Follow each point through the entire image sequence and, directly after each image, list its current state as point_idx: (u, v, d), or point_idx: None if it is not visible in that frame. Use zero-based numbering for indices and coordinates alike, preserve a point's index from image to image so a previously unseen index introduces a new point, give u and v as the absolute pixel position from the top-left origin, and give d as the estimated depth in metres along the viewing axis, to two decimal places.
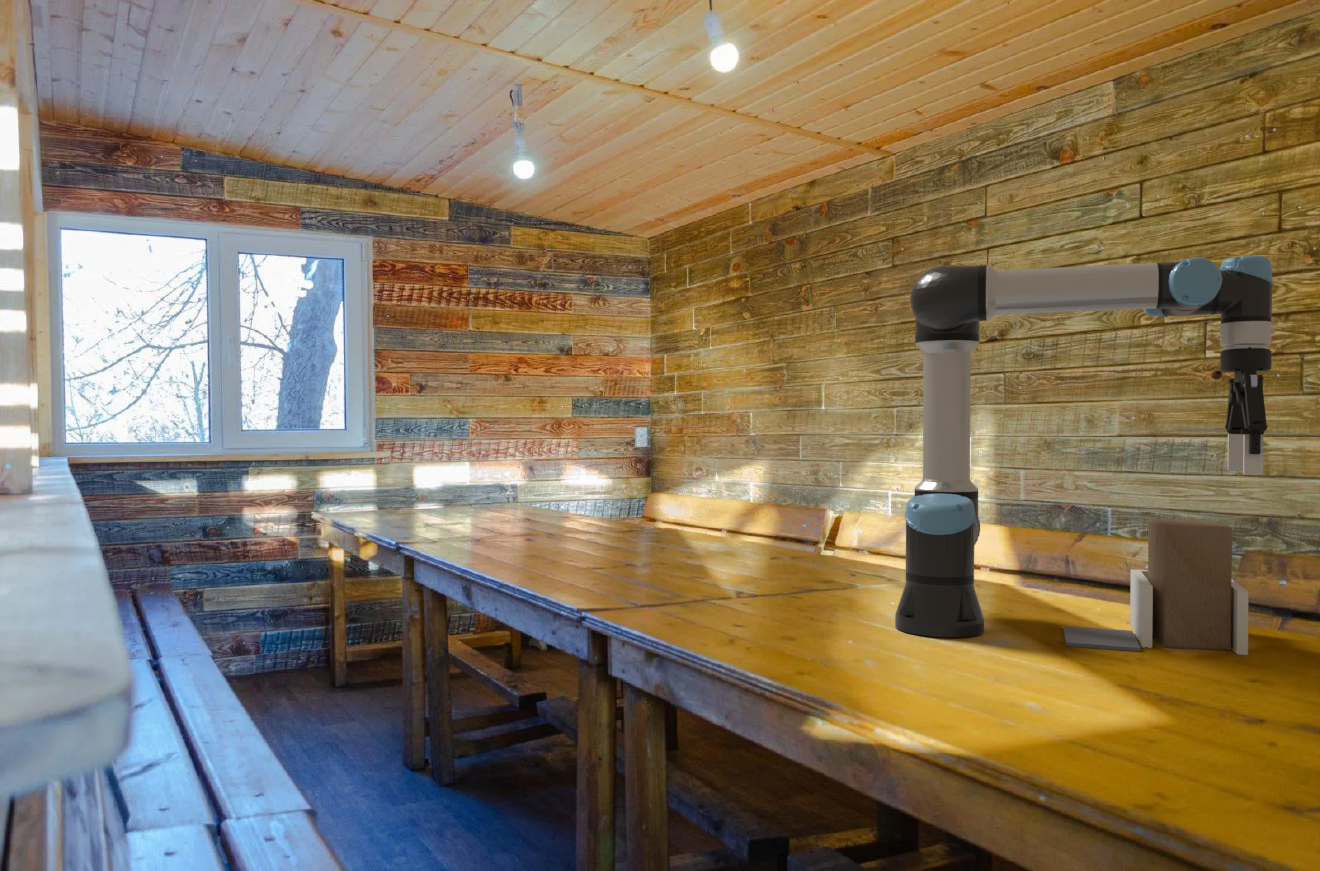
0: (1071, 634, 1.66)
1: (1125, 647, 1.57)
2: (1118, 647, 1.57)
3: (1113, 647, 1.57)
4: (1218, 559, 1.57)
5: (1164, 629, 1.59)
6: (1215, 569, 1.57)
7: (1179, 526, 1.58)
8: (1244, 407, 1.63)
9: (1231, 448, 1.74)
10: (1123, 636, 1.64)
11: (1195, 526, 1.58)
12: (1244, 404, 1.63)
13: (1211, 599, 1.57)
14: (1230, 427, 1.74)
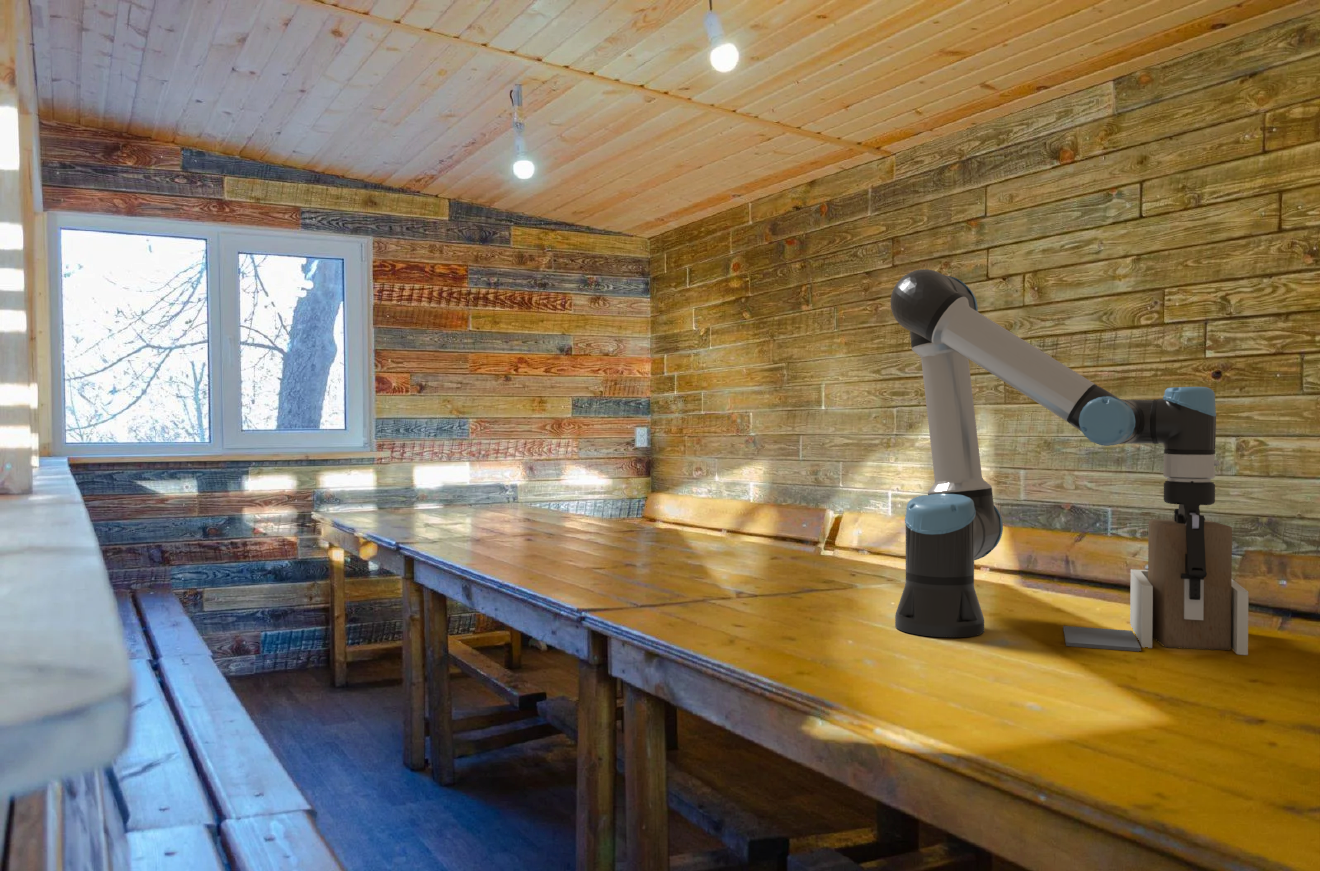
0: (1071, 634, 1.66)
1: (1125, 647, 1.57)
2: (1118, 647, 1.57)
3: (1113, 647, 1.57)
4: (1218, 559, 1.57)
5: (1164, 629, 1.59)
6: (1215, 569, 1.57)
7: (1179, 526, 1.58)
8: None
9: None
10: (1123, 636, 1.64)
11: None
12: None
13: (1211, 599, 1.57)
14: None
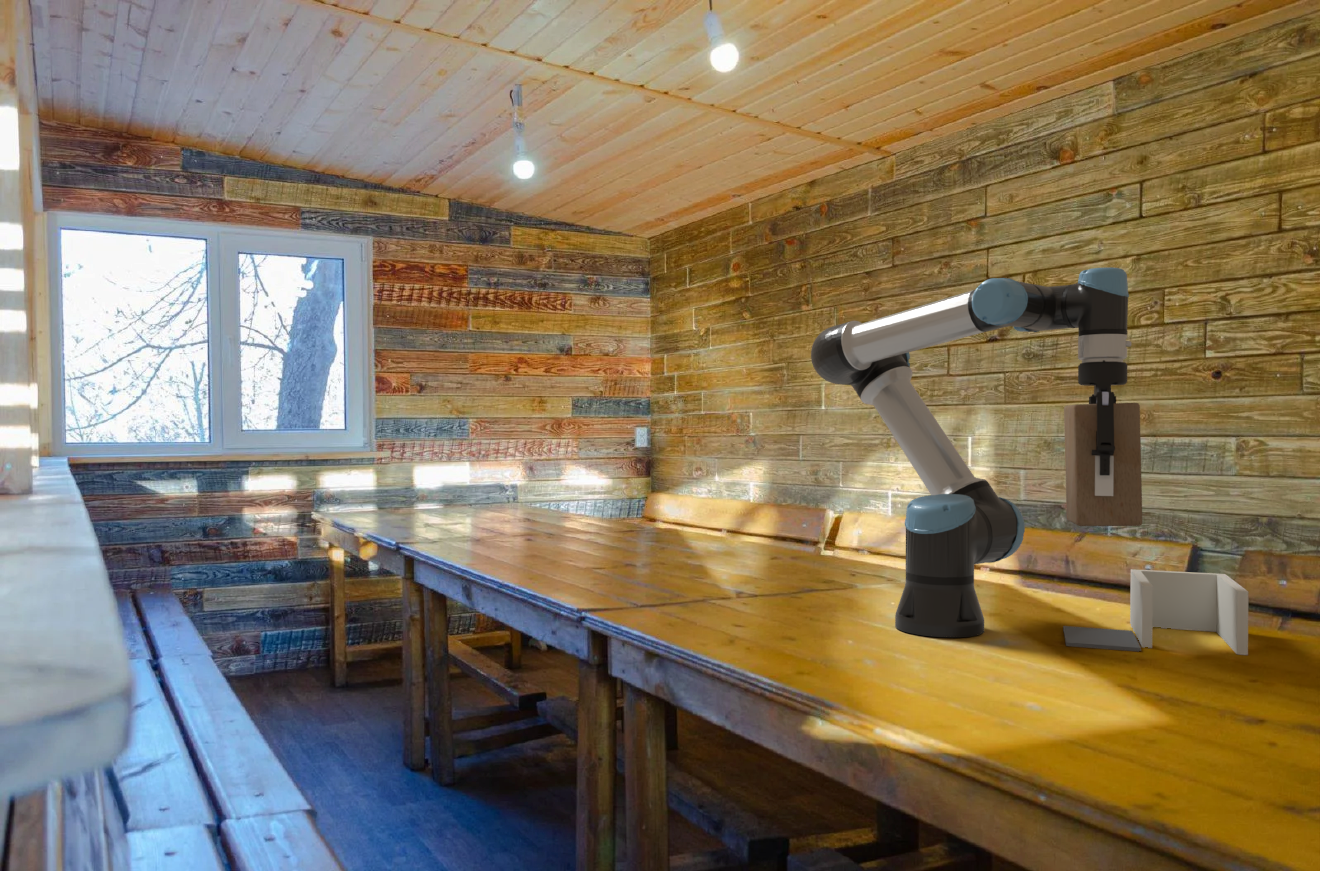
0: (1071, 634, 1.66)
1: (1125, 647, 1.57)
2: (1118, 647, 1.57)
3: (1113, 647, 1.57)
4: (1127, 436, 1.59)
5: (1077, 508, 1.61)
6: (1124, 445, 1.59)
7: (1088, 405, 1.60)
8: None
9: None
10: (1123, 636, 1.64)
11: None
12: None
13: (1121, 475, 1.59)
14: None
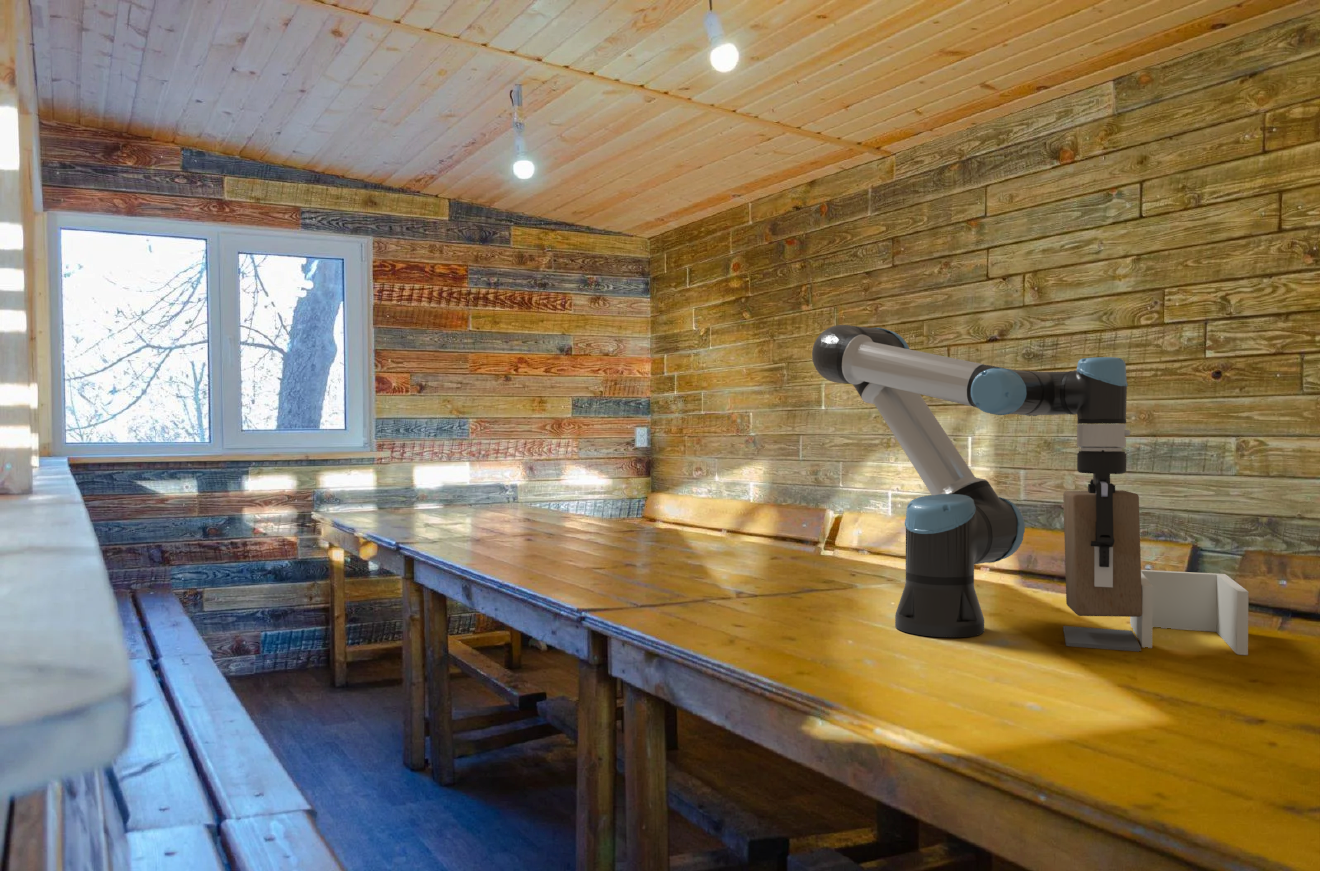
0: (1071, 634, 1.66)
1: (1125, 647, 1.57)
2: (1118, 647, 1.57)
3: (1113, 647, 1.57)
4: (1126, 527, 1.59)
5: (1076, 597, 1.61)
6: (1123, 536, 1.59)
7: (1087, 495, 1.60)
8: None
9: None
10: (1123, 636, 1.64)
11: None
12: None
13: (1120, 566, 1.59)
14: None
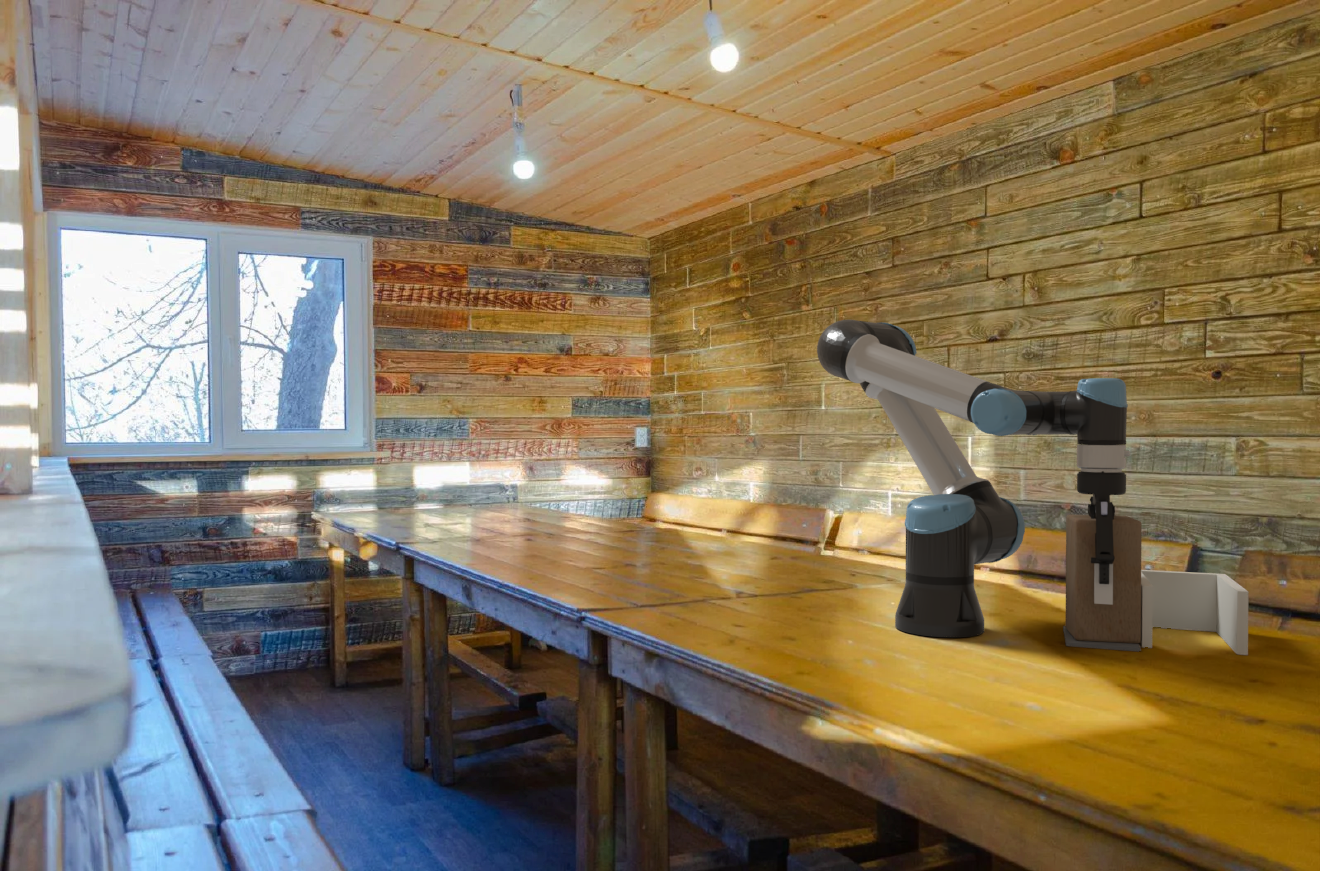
0: None
1: (1125, 647, 1.57)
2: (1118, 647, 1.57)
3: (1113, 647, 1.57)
4: (1128, 553, 1.59)
5: (1075, 622, 1.61)
6: (1124, 563, 1.59)
7: (1089, 520, 1.60)
8: (1096, 534, 1.60)
9: None
10: None
11: None
12: None
13: (1121, 593, 1.59)
14: None
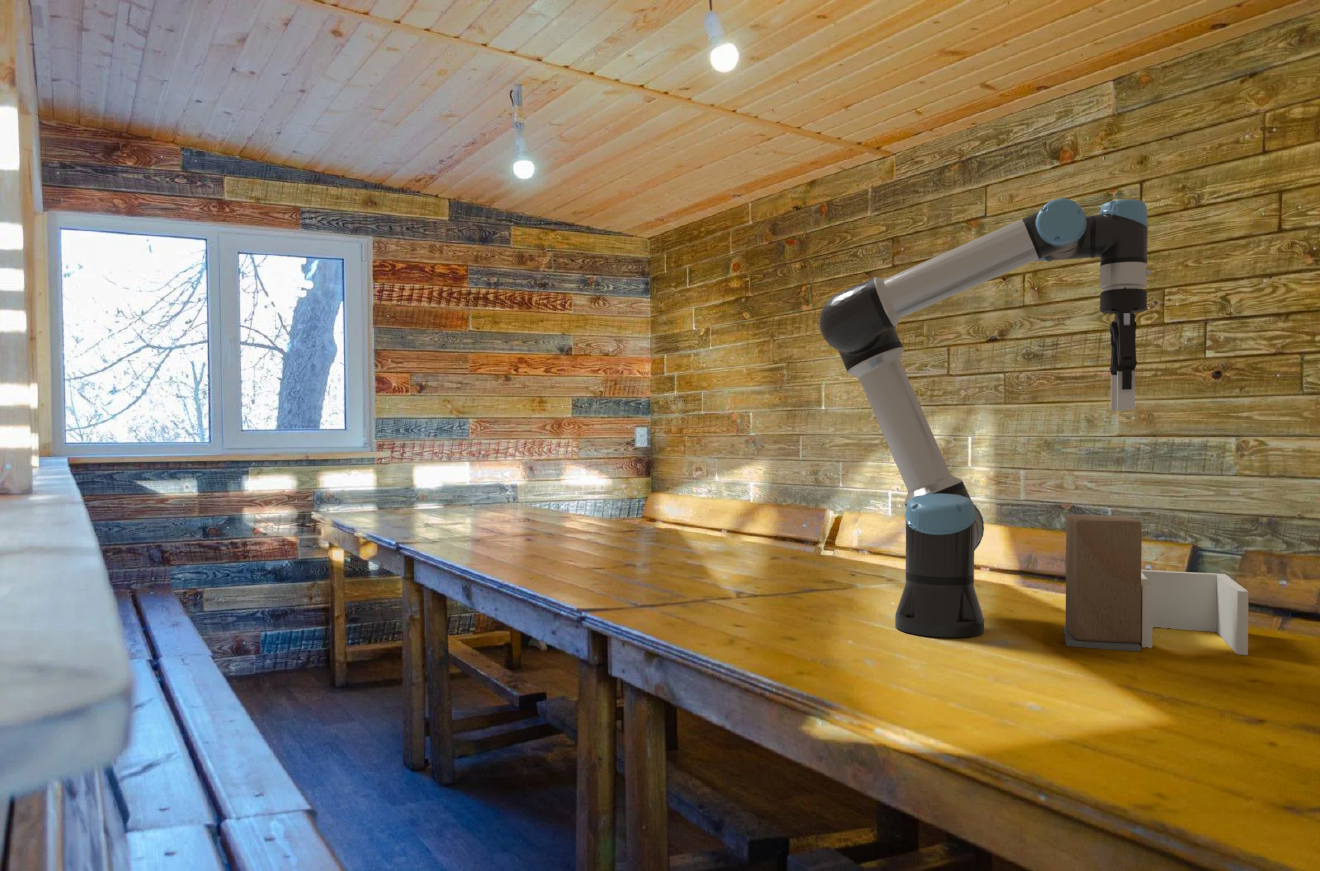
0: None
1: (1125, 647, 1.57)
2: (1118, 647, 1.57)
3: (1113, 647, 1.57)
4: (1128, 553, 1.59)
5: (1075, 622, 1.61)
6: (1124, 563, 1.59)
7: (1090, 521, 1.60)
8: (1118, 345, 1.68)
9: (1113, 389, 1.79)
10: None
11: (1105, 521, 1.60)
12: (1119, 342, 1.69)
13: (1121, 593, 1.59)
14: (1113, 368, 1.79)
